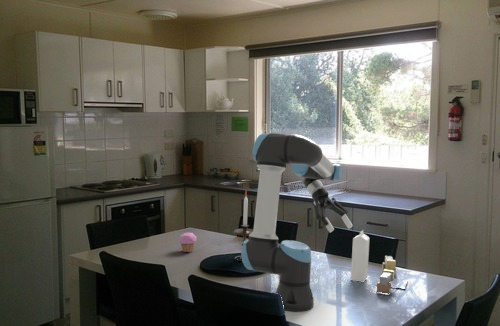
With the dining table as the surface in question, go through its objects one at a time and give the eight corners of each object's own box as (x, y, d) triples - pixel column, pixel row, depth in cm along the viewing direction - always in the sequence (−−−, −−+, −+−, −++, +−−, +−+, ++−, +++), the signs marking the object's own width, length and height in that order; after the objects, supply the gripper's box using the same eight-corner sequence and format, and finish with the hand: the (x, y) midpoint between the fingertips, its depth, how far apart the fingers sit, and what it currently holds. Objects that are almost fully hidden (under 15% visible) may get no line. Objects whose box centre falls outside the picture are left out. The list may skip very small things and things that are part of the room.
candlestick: (252, 263, 235) (255, 191, 232) (230, 261, 238) (232, 190, 234) (256, 257, 246) (259, 188, 243) (235, 255, 248) (237, 187, 245)
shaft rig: (403, 298, 195) (404, 279, 195) (372, 293, 200) (373, 274, 199) (409, 274, 227) (410, 257, 226) (382, 270, 231) (383, 254, 231)
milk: (350, 280, 215) (352, 231, 213) (354, 276, 221) (356, 228, 219) (364, 283, 213) (366, 233, 211) (367, 279, 218) (370, 230, 216)
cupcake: (197, 250, 256) (198, 231, 255) (194, 254, 247) (194, 235, 247) (181, 249, 257) (181, 230, 256) (176, 253, 248) (177, 234, 247)
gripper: (330, 194, 243) (353, 230, 234) (295, 198, 227) (318, 237, 217) (339, 185, 239) (363, 221, 229) (304, 189, 223) (328, 227, 213)
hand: (341, 229), depth 223 cm, fingers open, 13 cm apart
